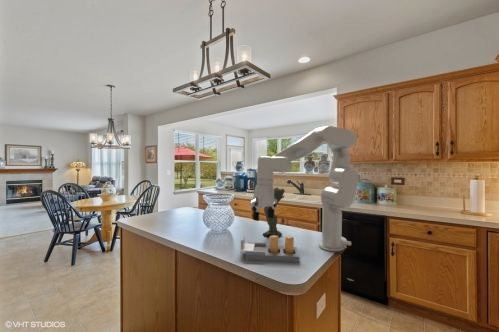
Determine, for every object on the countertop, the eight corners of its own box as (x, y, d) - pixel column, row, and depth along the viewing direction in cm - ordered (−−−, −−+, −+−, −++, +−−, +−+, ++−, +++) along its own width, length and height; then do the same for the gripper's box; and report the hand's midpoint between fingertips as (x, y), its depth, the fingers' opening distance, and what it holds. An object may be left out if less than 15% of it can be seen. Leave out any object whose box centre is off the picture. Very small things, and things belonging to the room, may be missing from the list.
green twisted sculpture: (259, 237, 135) (272, 186, 136) (256, 233, 142) (268, 185, 143) (281, 240, 138) (293, 191, 140) (276, 237, 145) (288, 190, 147)
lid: (254, 245, 116) (254, 235, 116) (253, 253, 106) (253, 242, 106) (242, 245, 116) (242, 235, 116) (240, 252, 107) (240, 241, 107)
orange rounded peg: (284, 254, 112) (284, 235, 112) (293, 255, 111) (293, 236, 111) (285, 258, 108) (285, 238, 108) (293, 258, 107) (294, 239, 107)
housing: (296, 252, 115) (296, 244, 115) (299, 262, 103) (299, 253, 103) (247, 249, 117) (248, 242, 117) (245, 259, 105) (245, 251, 105)
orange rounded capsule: (277, 254, 112) (277, 235, 112) (278, 257, 108) (278, 237, 108) (269, 254, 112) (269, 235, 112) (270, 257, 108) (269, 237, 108)
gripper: (271, 181, 118) (270, 215, 119) (245, 182, 107) (244, 219, 107) (283, 182, 113) (281, 218, 113) (257, 183, 101) (255, 223, 101)
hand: (263, 219), depth 110 cm, fingers open, 9 cm apart
